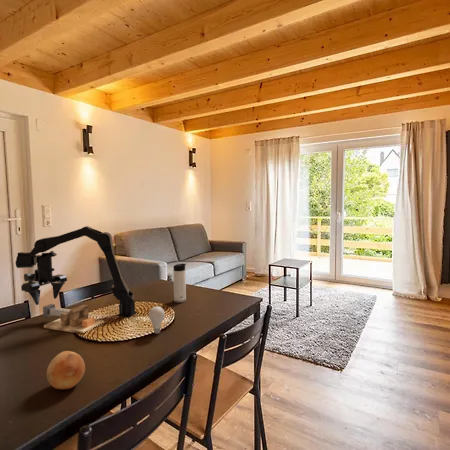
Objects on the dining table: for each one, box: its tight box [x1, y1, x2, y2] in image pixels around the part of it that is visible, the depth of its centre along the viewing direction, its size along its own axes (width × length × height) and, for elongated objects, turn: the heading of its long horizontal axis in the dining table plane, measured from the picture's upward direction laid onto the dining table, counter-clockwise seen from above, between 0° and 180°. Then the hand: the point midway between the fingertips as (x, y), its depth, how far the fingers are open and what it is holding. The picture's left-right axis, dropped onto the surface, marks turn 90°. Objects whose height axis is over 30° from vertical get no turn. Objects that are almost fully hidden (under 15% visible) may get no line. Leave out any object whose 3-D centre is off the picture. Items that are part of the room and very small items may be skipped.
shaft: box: [42, 303, 81, 318], centre depth 135 cm, size 18×4×4 cm, turn 71°
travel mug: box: [172, 263, 187, 304], centre depth 163 cm, size 6×7×20 cm
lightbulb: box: [148, 305, 165, 335], centre depth 123 cm, size 6×6×11 cm
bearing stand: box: [43, 304, 105, 334], centre depth 133 cm, size 21×12×8 cm, turn 71°
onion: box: [46, 350, 86, 390], centre depth 88 cm, size 10×10×10 cm
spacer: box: [82, 316, 96, 327], centre depth 130 cm, size 2×4×2 cm
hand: (46, 301), depth 137 cm, fingers open, 9 cm apart
